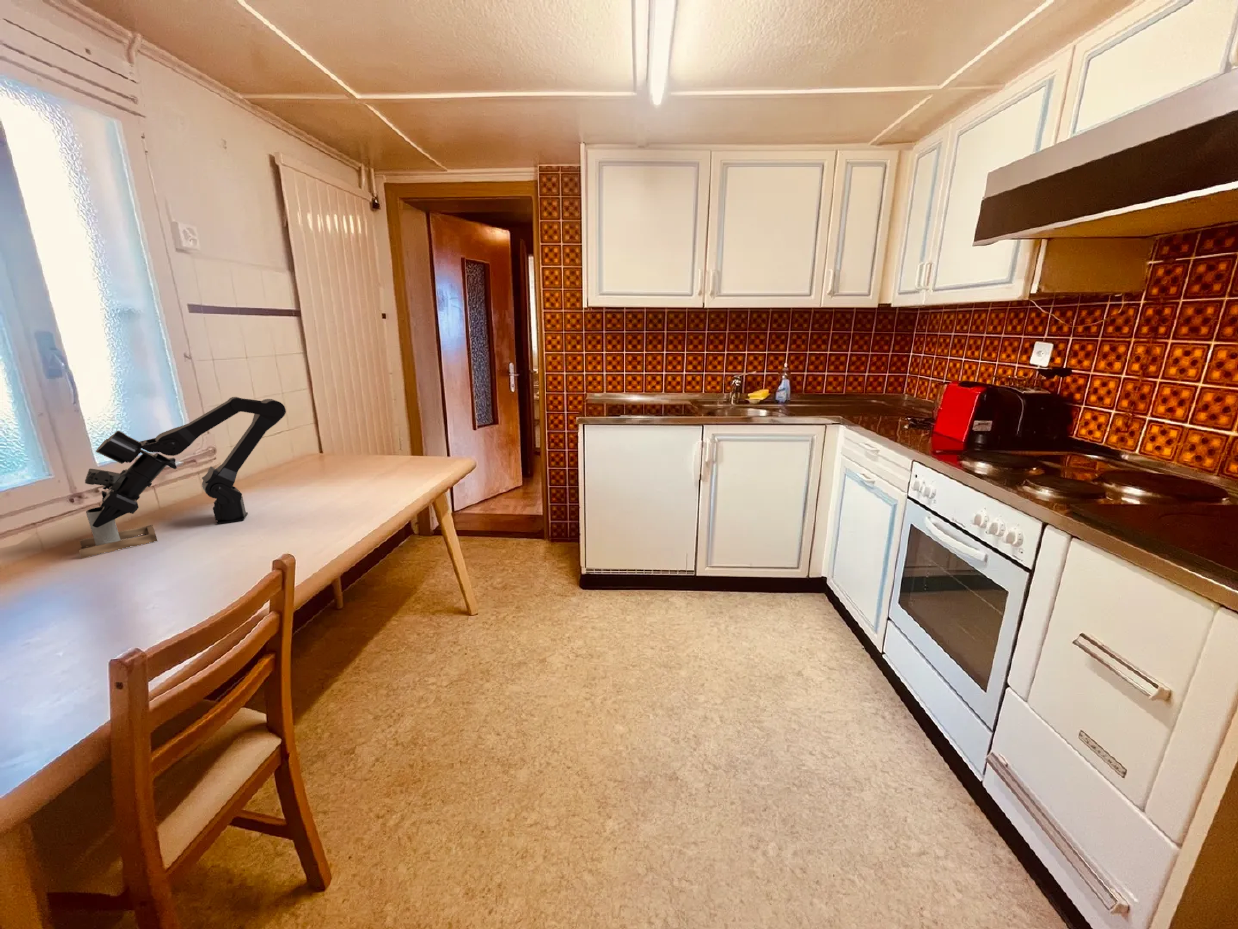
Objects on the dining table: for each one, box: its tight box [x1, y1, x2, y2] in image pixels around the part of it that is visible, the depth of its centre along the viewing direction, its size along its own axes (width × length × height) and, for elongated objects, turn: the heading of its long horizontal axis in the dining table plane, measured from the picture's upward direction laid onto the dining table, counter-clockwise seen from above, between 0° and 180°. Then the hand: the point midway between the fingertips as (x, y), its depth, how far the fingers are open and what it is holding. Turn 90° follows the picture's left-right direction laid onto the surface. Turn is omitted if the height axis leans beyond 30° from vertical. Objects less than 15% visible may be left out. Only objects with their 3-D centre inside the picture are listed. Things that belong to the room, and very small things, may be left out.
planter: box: [85, 506, 121, 546], centre depth 128 cm, size 4×4×10 cm
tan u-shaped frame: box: [78, 524, 158, 559], centre depth 131 cm, size 14×10×2 cm
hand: (94, 524), depth 127 cm, fingers closed on planter, 4 cm apart
